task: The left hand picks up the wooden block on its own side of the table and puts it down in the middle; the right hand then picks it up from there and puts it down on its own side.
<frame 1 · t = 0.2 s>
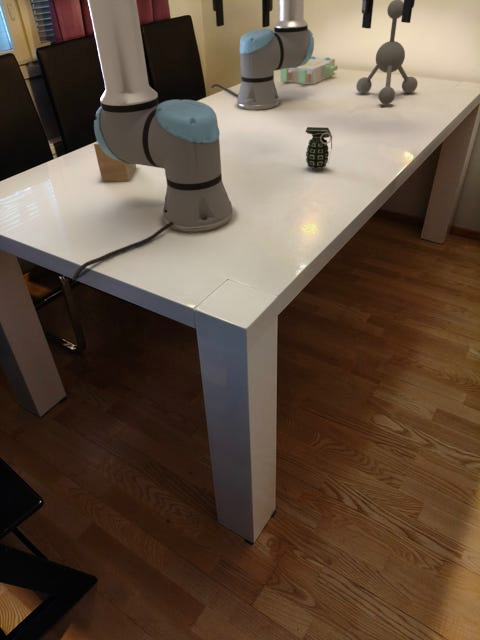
left hand: (242, 26, 128), 30 cm above the table, tool pointing down, fingers open, 13 cm apart
right hand: (386, 25, 132), 28 cm above the table, tool pointing down, fingers open, 13 cm apart
electronic device: (145, 144, 149), on the table
decorative block: (308, 79, 208), on the table
grenade: (317, 169, 127), on the table
block: (119, 174, 130), on the table
molecular model: (390, 96, 179), on the table
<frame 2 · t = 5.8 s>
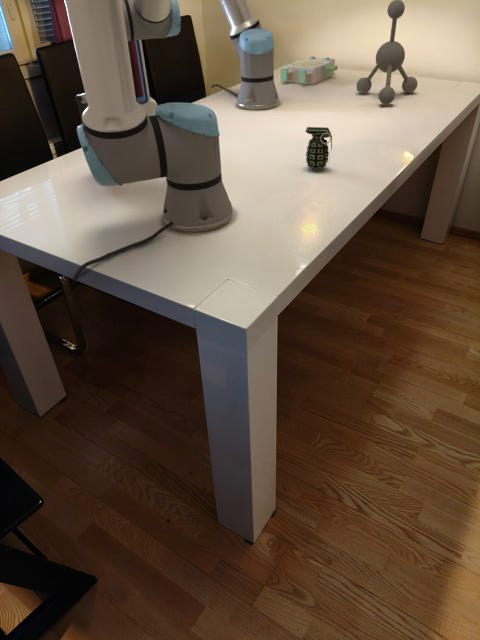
left hand: (117, 163, 128), 3 cm above the table, tool pointing down, fingers closed on block, 7 cm apart
block: (119, 174, 130), on the table, touching left hand
everything else where it was.
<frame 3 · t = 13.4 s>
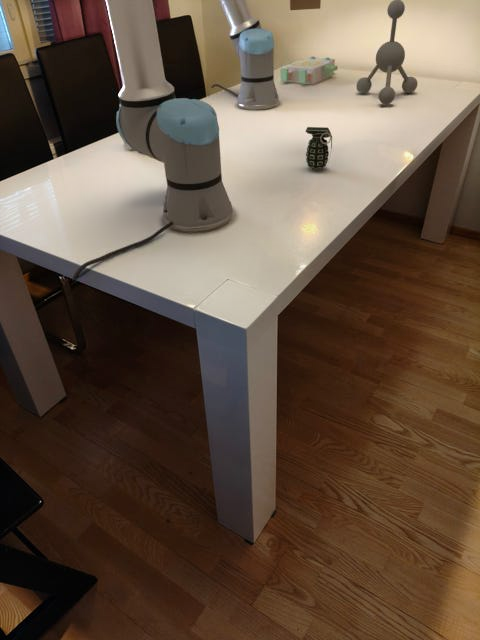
block: (304, 7, 117), point 34 cm above the table, touching left hand
everything else where it was.
when the left hand's fingers open (4 cm above the table, at t = 20.9 s): block drops 1 cm, on the table.
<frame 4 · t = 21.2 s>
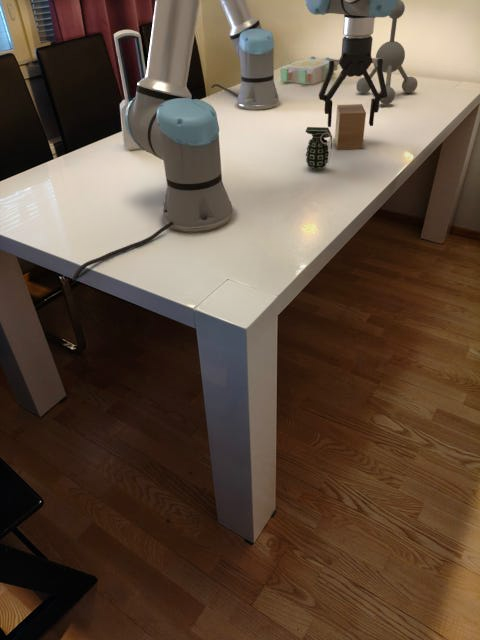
left hand: (349, 125, 137), 5 cm above the table, tool pointing down, fingers open, 11 cm apart
block: (348, 143, 141), on the table
everything else where it was.
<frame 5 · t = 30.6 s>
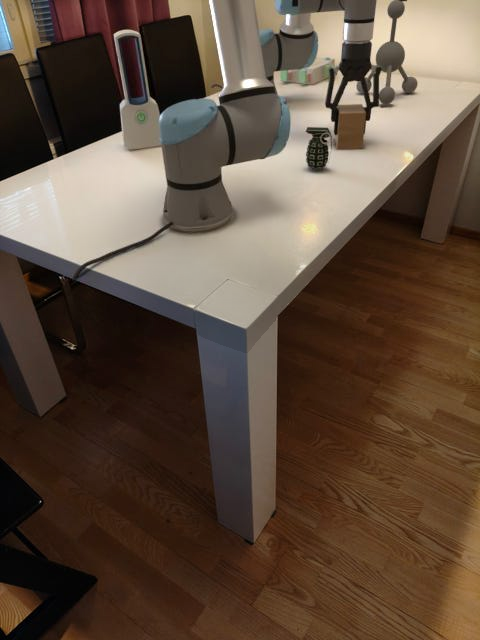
left hand: (347, 3, 63), 41 cm above the table, tool pointing down, fingers open, 13 cm apart
right hand: (349, 132, 139), 3 cm above the table, tool pointing down, fingers closed on block, 7 cm apart
block: (348, 143, 141), on the table, touching right hand
everything else where it was.
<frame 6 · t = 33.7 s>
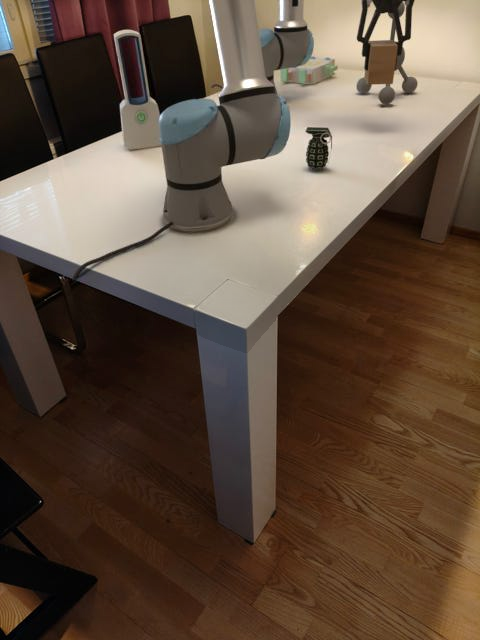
left hand: (347, 3, 63), 41 cm above the table, tool pointing down, fingers open, 13 cm apart
right hand: (379, 68, 139), 17 cm above the table, tool pointing down, fingers closed on block, 7 cm apart
block: (378, 80, 141), point 14 cm above the table, touching right hand
everything else where it was.
when the right hand's fingers open (4 cm above the table, at t = 37.1 s): block drops 1 cm, on the table.
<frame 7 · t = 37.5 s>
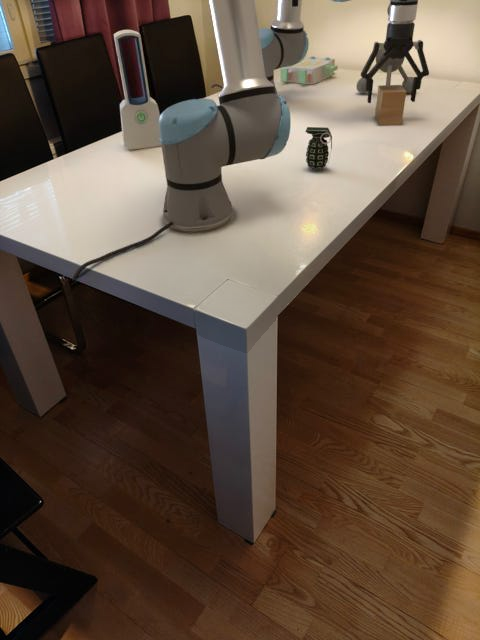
left hand: (347, 3, 63), 41 cm above the table, tool pointing down, fingers open, 13 cm apart
right hand: (390, 101, 152), 6 cm above the table, tool pointing down, fingers open, 13 cm apart
block: (387, 120, 156), on the table
everything else where it was.
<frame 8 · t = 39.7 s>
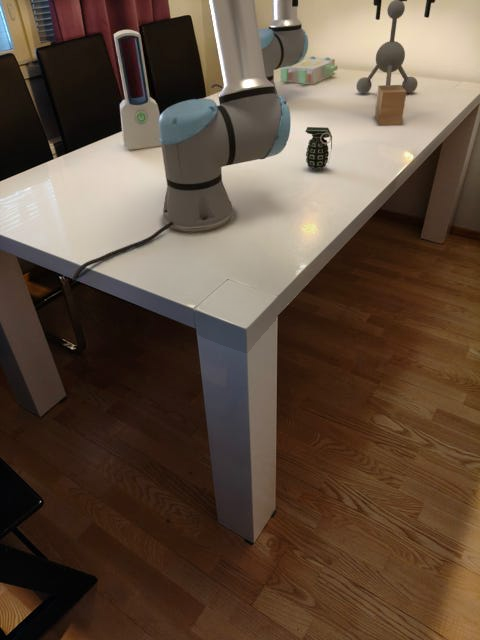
left hand: (347, 3, 63), 41 cm above the table, tool pointing down, fingers open, 13 cm apart
right hand: (401, 18, 139), 28 cm above the table, tool pointing down, fingers open, 13 cm apart
nothing on the table moved.
at the end: block inside the target area (0.1 cm from its centre), on the table; block tilted 0°; the two hands never held the block at the same time; the left hand is holding nothing; the right hand is holding nothing; block at rest at the end (0.0 cm/s) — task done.
